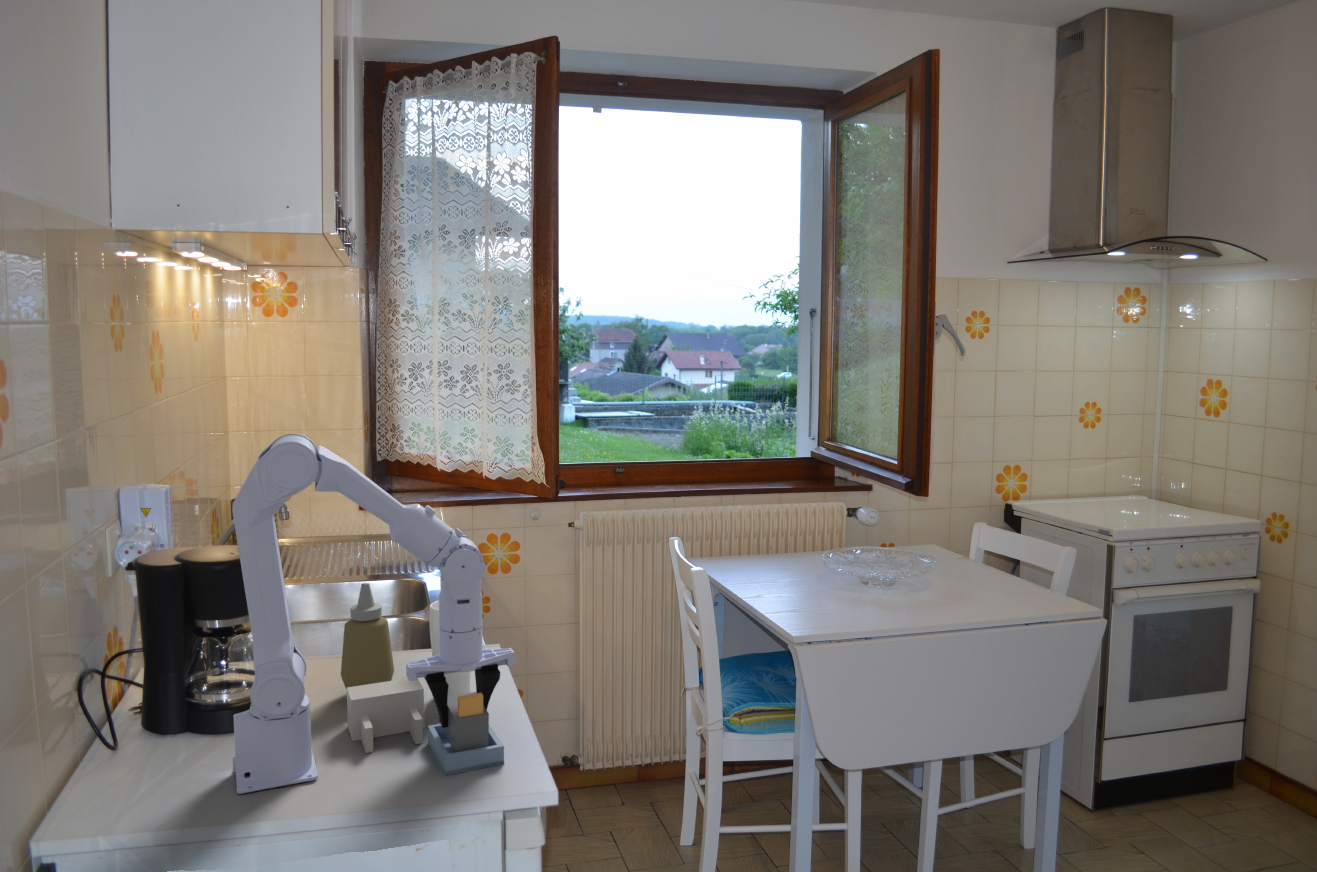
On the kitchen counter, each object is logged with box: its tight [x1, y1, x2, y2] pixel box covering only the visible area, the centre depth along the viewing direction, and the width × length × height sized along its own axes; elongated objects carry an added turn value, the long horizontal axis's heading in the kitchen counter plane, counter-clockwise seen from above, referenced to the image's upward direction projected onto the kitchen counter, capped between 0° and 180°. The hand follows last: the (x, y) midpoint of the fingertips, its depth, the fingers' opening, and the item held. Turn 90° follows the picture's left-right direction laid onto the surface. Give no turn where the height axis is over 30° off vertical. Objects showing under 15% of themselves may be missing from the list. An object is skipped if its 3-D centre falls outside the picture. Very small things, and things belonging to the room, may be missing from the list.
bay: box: [346, 677, 425, 754], centre depth 133 cm, size 10×10×6 cm
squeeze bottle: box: [340, 582, 395, 691], centre depth 146 cm, size 8×8×18 cm
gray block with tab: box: [443, 691, 490, 753], centre depth 126 cm, size 7×4×8 cm, turn 26°
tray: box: [427, 723, 505, 776], centre depth 127 cm, size 8×10×2 cm
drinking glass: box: [429, 599, 472, 696], centre depth 146 cm, size 7×7×15 cm
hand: (462, 721), depth 128 cm, fingers closed on gray block with tab, 4 cm apart
